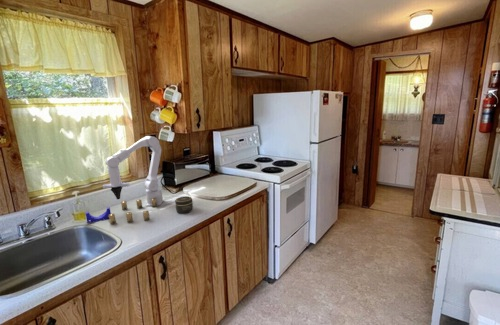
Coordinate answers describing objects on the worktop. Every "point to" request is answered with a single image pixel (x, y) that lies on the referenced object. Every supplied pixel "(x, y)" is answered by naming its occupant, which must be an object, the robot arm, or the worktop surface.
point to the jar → (184, 205)
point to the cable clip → (101, 217)
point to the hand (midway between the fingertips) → (118, 198)
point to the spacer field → (129, 214)
